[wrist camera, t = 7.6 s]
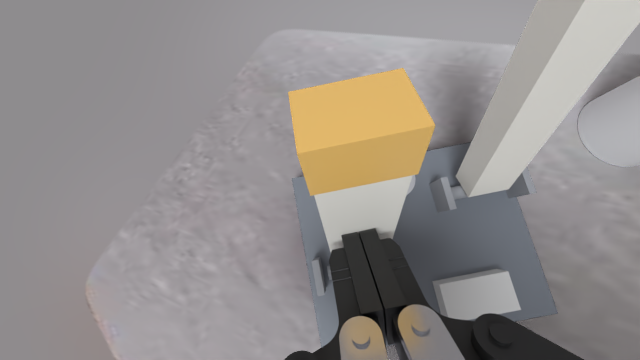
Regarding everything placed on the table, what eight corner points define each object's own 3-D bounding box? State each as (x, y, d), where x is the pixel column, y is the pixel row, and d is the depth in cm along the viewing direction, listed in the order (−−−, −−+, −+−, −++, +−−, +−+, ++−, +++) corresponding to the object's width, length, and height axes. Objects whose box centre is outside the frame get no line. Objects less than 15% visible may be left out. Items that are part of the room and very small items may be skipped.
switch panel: (476, 148, 25) (513, 125, 20) (528, 302, 22) (588, 324, 17) (296, 185, 25) (286, 172, 20) (325, 342, 23) (321, 375, 17)
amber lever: (380, 249, 21) (424, 63, 7) (389, 278, 20) (461, 119, 6) (326, 260, 21) (266, 96, 7) (331, 289, 20) (271, 158, 6)
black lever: (495, 175, 22) (696, -127, 9) (511, 198, 20) (776, -120, 7) (442, 186, 22) (561, -98, 9) (454, 209, 20) (616, -86, 7)
